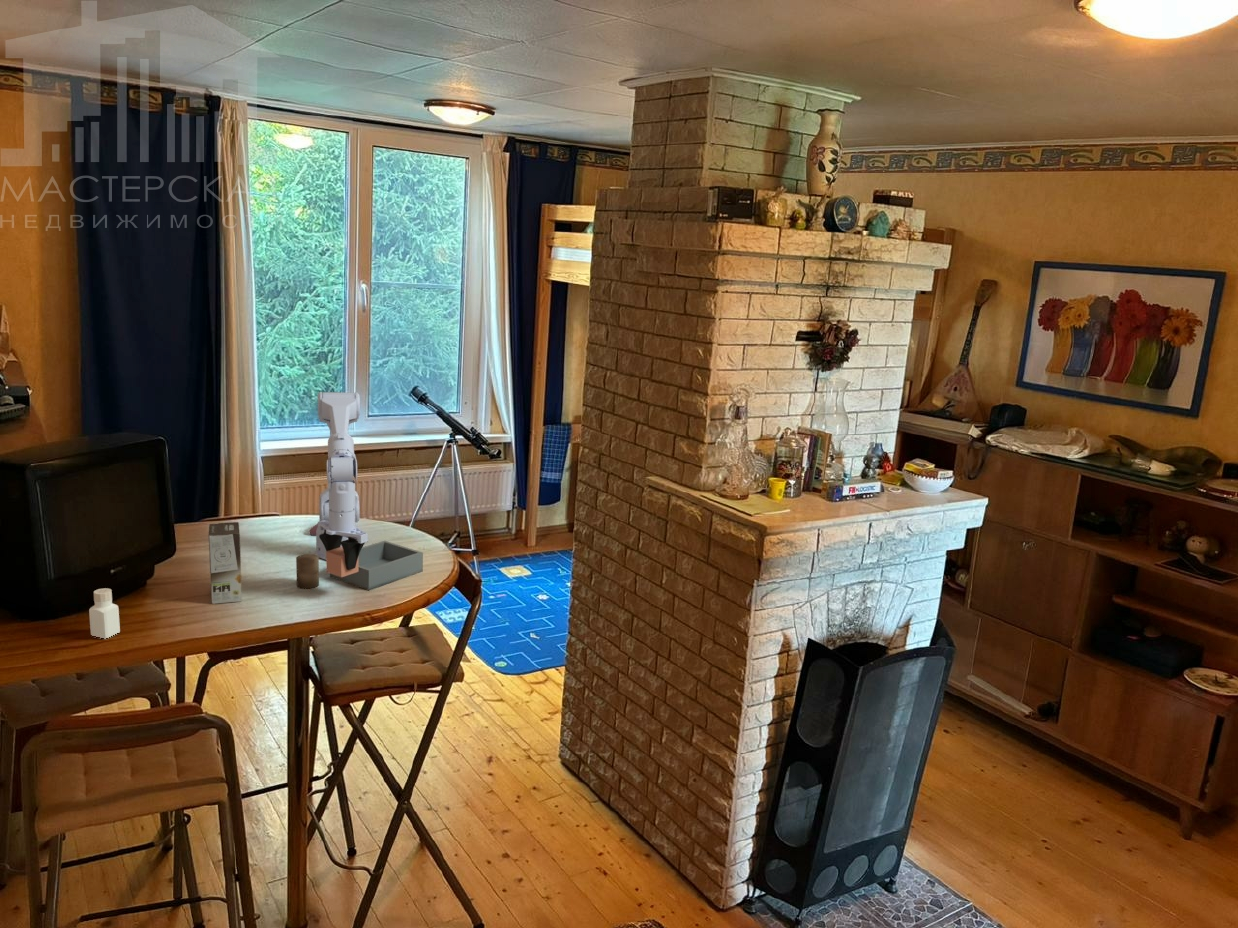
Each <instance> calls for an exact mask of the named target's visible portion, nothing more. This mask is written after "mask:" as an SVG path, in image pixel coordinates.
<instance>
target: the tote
mask: <svg viewBox="0 0 1238 928" xmlns="http://www.w3.org/2000/svg"><path fill="white" fill-rule="evenodd" d="M423 568H424V552H423V551H419V550H416V549H412V548H409V547H406V546H404V545H403V546H402V545H400V544H397V543H394V542H390V541H387V540H383V541H379V542H376V543H372V544H369V545H366V546H363V547H362V549H361V551H360V553H359V572H356V573H353V574H350V575H347V576H344V577H339V576H336V575H333V574H331V573H329V576H330V578H333V579H335V580H338V581H341V582H344V583H346V584H347V583H348V584H350V585H352V586H355V587H357V588H361V589H364V590H366V591H372V590H374V589H377V588H381V587H383V586H386V585H389V584H391V583H394V582H396V581H399V580H402V579H406V578H408V577H410V576H411V577H412V576H414V575H416V574H420V573H423V571H424V570H423Z"/></svg>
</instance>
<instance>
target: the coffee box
mask: <svg viewBox="0 0 1238 928" xmlns="http://www.w3.org/2000/svg"><path fill="white" fill-rule="evenodd" d="M239 523H240V522H238V521H234V522H232V521H230V522H229V521H228V522H218V523H209V525H208V526H209V527H208V550H209V551H208V552H209V555H208V556H209V572H210V573H209V574H210V577H209V578H210V589H211V590H210V592H211V593H210V594H211V595H210V596H211V604H213V605H214V604H215V605H217V604H225V603H227V604H228V603H239V602H241V601H242V559H241V558H242V557H241V555H242V554H241V535H240V534H241V533H240V524H239Z"/></svg>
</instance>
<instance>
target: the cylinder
mask: <svg viewBox="0 0 1238 928" xmlns="http://www.w3.org/2000/svg"><path fill="white" fill-rule="evenodd" d="M314 554H315V553H305V554H304V553H303V554H299V555H297V556H296V557H295V558H296V559H295V560H296V561H295V563H296V565H295V567H296V569H295V570H296V571H295V572H296V588H297V589H299V590H314V589H317V588H318V587H319V586H320V571H319V570H320V564H319V563H320V562H319V560H320V558H319V557H318V556H317V555H314Z"/></svg>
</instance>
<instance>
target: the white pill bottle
mask: <svg viewBox="0 0 1238 928" xmlns="http://www.w3.org/2000/svg"><path fill="white" fill-rule="evenodd" d="M112 591H113V590H112V589H111V588H108V587H107V588H106V587H105V588H98V589H96V590H94V591H93V601H94V605H92V606H90V608H89V610H88V612H89V613H88V615H89V625H90V626H89V628H90V635H92V636H96V637H100V638H99V639H101V638H104V639H103V640H107V639H106V638H108V639H110V638H112V637H114V636H116V635H118V634H117V633H120V632H121V628H120V627H121V624H120V615H119V614H120V611H119V610H120V609H119V605H118V604H115V603H113V593H112ZM115 634H116V635H115ZM113 635H114V636H113ZM92 636H91V637H92ZM111 636H112V637H111ZM96 637H95V638H96ZM109 637H110V638H109Z"/></svg>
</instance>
